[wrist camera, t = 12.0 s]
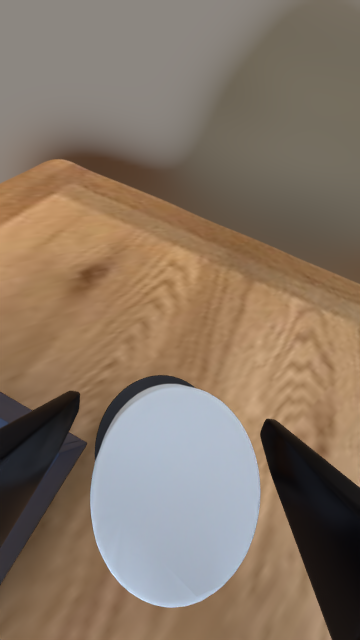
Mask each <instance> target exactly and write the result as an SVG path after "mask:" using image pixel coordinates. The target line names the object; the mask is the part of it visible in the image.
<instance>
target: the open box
mask: <svg viewBox="0 0 360 640" xmlns="http://www.w3.org/2000/svg"><path fill="white" fill-rule="evenodd" d="M31 411H32V410H30V409H29V408H27V407H25V406H23V405H22V404H20V403H18V402H17V401H15V400H13V399H12V398H10V397H8V396H7V395H5V394H3V393H1V392H0V428H1V427H3V426H5V425H7V424H9V423H11V422H12V421H14V420H16V419H18V418H20V417H22V416H24V415H25V414H27V413H29V412H31ZM86 445H87V443H86V442H85V441H83V440H81V439H80V438H78V437H76V436H74V435H73V434H71V433H69V432H68V434H67V436H66V438H65V440H64V442H63V444H62V446H61V448H60V450H59V452H58V454H57V455H56V457H55V459H54V460H53V462H52V464H51V465H50V467H49V469H48V470H47V472H46V474H45V475H44V477H43V479H42V480H41V482H40V484H39V485H38V487H37V489H36V490H35V492H34V494H33V495H32V497H31V498H30V500H29V502H28V503H27V505H26V507H25V508H24V510H23V512H22V513H21V515H20V517H19V518H18V520H17V522H16V523H15V525H14V527H13V528H12V530H11V532H10V533H9V535H8V537H7V538H6V540H5V542H4V543H3V545H2V546H1V548H0V584H1V583H2V581H3V579H4V578H5V576H6V575H7V573H8V571H9V570H10V568H11V566H12V565H13V563H14V562H15V560H16V558H17V557H18V555H19V553H20V552H21V550H22V549H23V547H24V545H25V544H26V542H27V541H28V539H29V537H30V536H31V534H32V532H33V531H34V529H35V528H36V526H37V524H38V523H39V521H40V519H41V518H42V516H43V515H44V513H45V511H46V510H47V508H48V506H49V505H50V503H51V502H52V500H53V498H54V497H55V495H56V493H57V492H58V490H59V489H60V487H61V485H62V484H63V482H64V480H65V479H66V477H67V476H68V474H69V472H70V471H71V469H72V467H73V466H74V464H75V463H76V461H77V459H78V458H79V456H80V454H81V453H82V451H83V450H84V448H85V446H86Z"/></svg>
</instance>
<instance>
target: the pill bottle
mask: <svg viewBox="0 0 360 640" xmlns="http://www.w3.org/2000/svg"><path fill="white" fill-rule="evenodd" d="M90 507H91V519H92V525H93V531H94V535H95V539H96V543H97V545H98V548H99V551H100V553H101V555H102V557H103V559H104V561H105V563H106V565H107V566H108V568H109V570H110V572H111V573H112V574H113V576H114V577H115V578H116V579H117V580H118V582H119V583H120V584H121V585H122V586H123V587H124V588H126V589H127V590H128V591H129V592H130V593H132V594H133V595H135V596H136V597H138V598H139V599H141V600H143V601H145V602H148V603H150V604H153V605H157V606H161V607H170V608H175V607H184V606H188V605H191V604H194V603H197V602H200V601H202V600H204V599H206V598H207V597H208V596H210V595H212V594H213V593H215V592H216V591H217V590H218V589H220V588H221V587H222V586H224V584H225V583H226V582H227V581H228V580H229V579H230V578H231V577H232V575H233V574H234V573H235V572H236V570H237V569H238V567H239V566H240V564H241V563H242V561H243V559H244V557H245V555H246V554H247V552H248V549H249V547H250V544H251V541H252V539H253V536H254V533H255V529H256V525H257V520H258V514H259V507H260V478H259V470H258V465H257V460H256V456H255V453H254V450H253V447H252V444H251V442H250V439H249V437H248V435H247V433H246V431H245V429H244V427H243V426H242V424H241V422H240V421H239V419H238V418H237V417H236V416H235V415H234V413H233V412H232V411H231V410H230V409H229V408H228V407H227V406H226V405H225V404H224V403H223V402H222V401H220V400H219V399H217V398H216V397H214V396H213V395H211V394H209V393H207V392H205V391H203V390H200V389H197V388H193V387H188V386H185V385H181V384H162V385H157V386H153V387H150V388H148V389H146V390H143V391H141V392H140V393H138V394H137V395H135V396H134V397H133V398H132V399H130V400H129V401H128V402H127V403H126V404H125V405H124V406H123V407H122V408H121V409H120V410H119V412H118V413H117V414H116V416H115V417H114V419H113V421H112V422H111V424H110V426H109V428H108V430H107V432H106V434H105V436H104V439H103V441H102V445H101V447H100V450H99V453H98V455H97V458H96V461H95V465H94V470H93V474H92V482H91V490H90Z"/></svg>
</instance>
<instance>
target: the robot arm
mask: <svg viewBox="0 0 360 640" xmlns="http://www.w3.org/2000/svg"><path fill="white" fill-rule="evenodd" d="M79 403H80V393H79V392H76V391H68V392H66V393H64V394H63V395H61V396H59V397H57V398H55V399H53V400H51V401H50V402H48V403H46V404H44V405H42V406H40V407H38V408H37V409H35V410H33V411H31V412H29V413H27V414H25V415H24V416H22V417H20V418H18V419H16V420H14V421H12V422H11V423H9V424H7V425H5V426H3V427H1V428H0V548H1V546H2V545H3V543H4V542H5V540H6V538H7V537H8V535H9V533H10V532H11V530H12V528H13V527H14V525H15V523H16V522H17V520H18V518H19V517H20V515H21V513H22V512H23V510H24V508H25V507H26V505H27V503H28V502H29V500H30V498H31V497H32V495H33V494H34V492H35V490H36V489H37V487H38V485H39V484H40V482H41V480H42V479H43V477H44V475H45V474H46V472H47V470H48V469H49V467H50V465H51V464H52V462H53V460H54V459H55V457H56V455H57V454H58V452H59V450H60V448H61V446H62V444H63V442H64V440H65V438H66V436H67V434H68V432H69V430H70V428H71V426H72V424H73V422H74V420H75V417H76V415H77V413H78V411H79ZM260 437H261V441H262V444H263V448H264V452H265V455H266V459H267V462H268V466H269V469H270V473H271V476H272V479H273V481H274V484H275V487H276V490H277V492H278V495H279V498H280V500H281V503H282V506H283V508H284V511H285V514H286V517H287V519H288V522H289V525H290V527H291V530H292V533H293V536H294V538H295V541H296V544H297V546H298V549H299V552H300V554H301V557H302V560H303V563H304V565H305V568H306V571H307V573H308V576H309V579H310V581H311V584H312V587H313V590H314V592H315V595H316V598H317V600H318V603H319V606H320V609H321V611H322V614H323V617H324V619H325V622H326V625H327V627H328V630H329V633H330V636H331V638H332V640H360V487H358V486H357V485H356V484H355V483H353V482H352V481H351V480H350V479H348V478H347V477H346V476H345V475H343V474H342V473H341V472H340V471H338V470H337V469H336V468H335V467H333V466H332V465H331V464H330V463H328V462H327V461H326V460H325V459H323V458H322V457H321V456H320V455H318V454H317V453H316V452H315V451H314V450H312V449H311V448H310V447H309V446H307V445H306V444H305V443H304V442H302V441H301V440H300V439H299V438H297V437H296V436H295V435H294V434H292V433H291V432H290V431H289V430H287V429H286V428H285V427H284V426H282V425H281V424H280V423H279V422H277V421H276V420H274V419H266V420H265V422H264V424H263V427H262V430H261V433H260Z"/></svg>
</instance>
